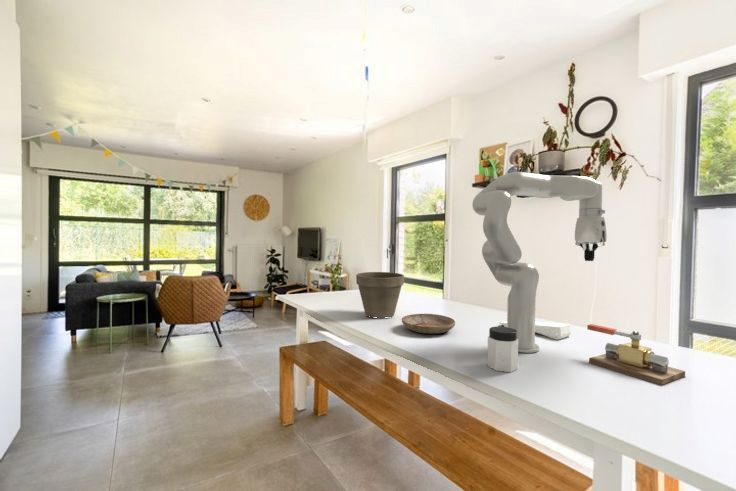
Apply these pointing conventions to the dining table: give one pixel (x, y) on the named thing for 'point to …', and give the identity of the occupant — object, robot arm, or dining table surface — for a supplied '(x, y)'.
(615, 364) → the base board
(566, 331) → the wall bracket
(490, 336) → the jar
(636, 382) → the dining table surface
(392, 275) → the plant pot
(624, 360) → the ball valve
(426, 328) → the ceramic bowl
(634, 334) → the lever
